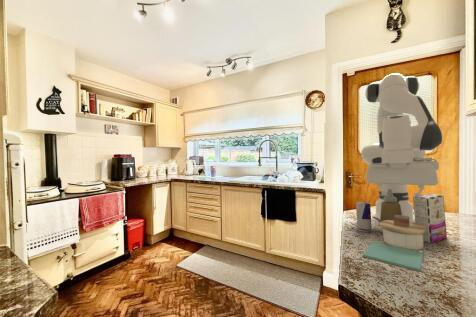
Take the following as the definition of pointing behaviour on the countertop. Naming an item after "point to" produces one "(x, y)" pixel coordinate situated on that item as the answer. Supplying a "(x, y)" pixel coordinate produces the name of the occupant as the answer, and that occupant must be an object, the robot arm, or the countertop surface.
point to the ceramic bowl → (403, 240)
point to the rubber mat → (395, 255)
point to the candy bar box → (431, 216)
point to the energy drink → (363, 216)
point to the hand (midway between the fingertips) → (400, 197)
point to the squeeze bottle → (390, 207)
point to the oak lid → (403, 226)
